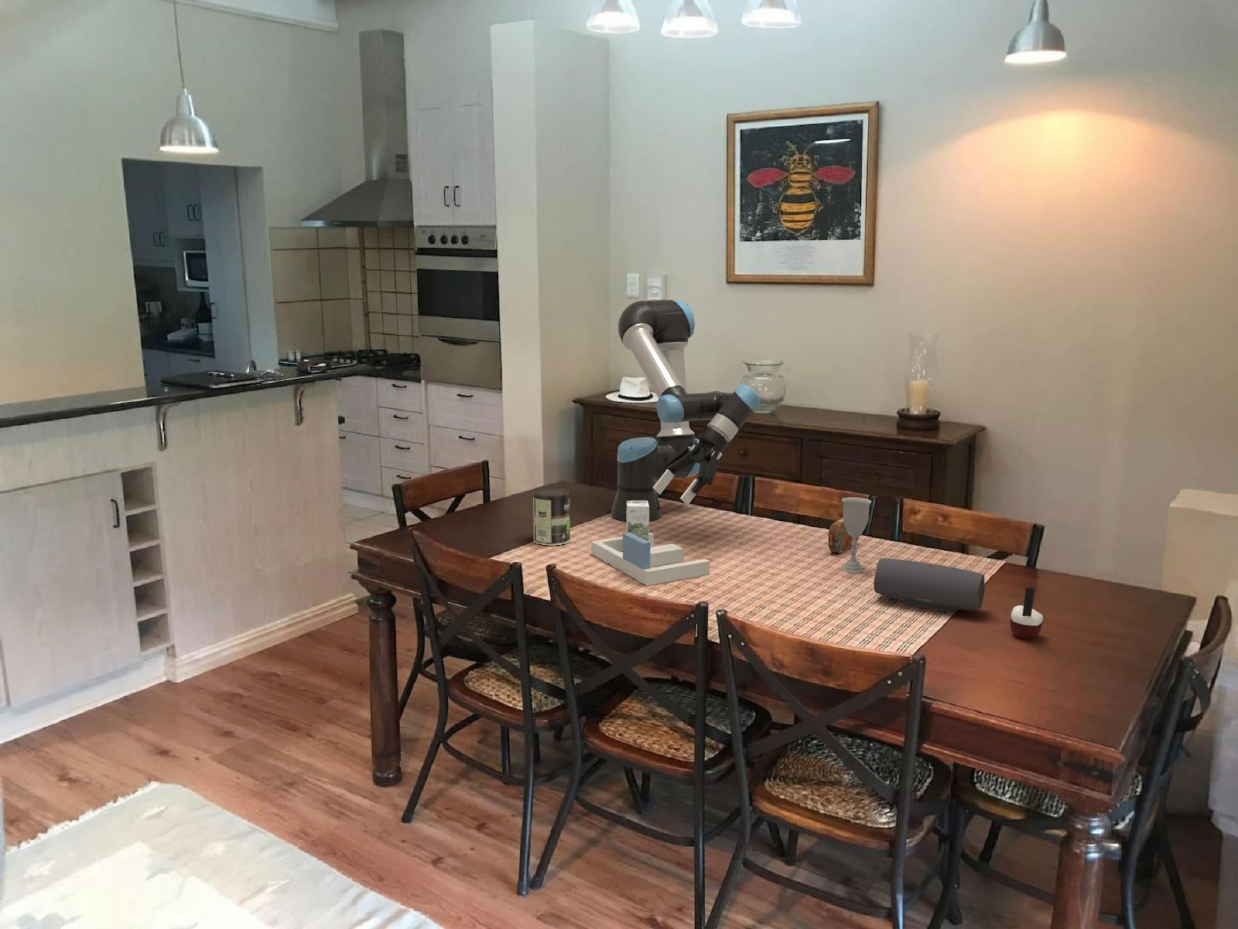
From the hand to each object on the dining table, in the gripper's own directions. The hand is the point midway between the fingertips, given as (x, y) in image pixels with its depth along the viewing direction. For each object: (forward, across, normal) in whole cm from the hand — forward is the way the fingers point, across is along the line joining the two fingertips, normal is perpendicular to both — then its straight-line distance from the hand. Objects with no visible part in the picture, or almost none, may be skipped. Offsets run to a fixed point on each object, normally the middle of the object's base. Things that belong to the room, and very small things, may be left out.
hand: (669, 496), depth 261 cm
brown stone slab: (-19, -20, -41) cm, 50 cm away
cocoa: (-12, -86, -35) cm, 94 cm away
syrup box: (+18, +1, -4) cm, 18 cm away
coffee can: (+27, +24, +6) cm, 37 cm away
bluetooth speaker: (-9, -63, -32) cm, 71 cm away
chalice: (-12, -35, -34) cm, 50 cm away
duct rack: (+18, -6, -3) cm, 20 cm away
